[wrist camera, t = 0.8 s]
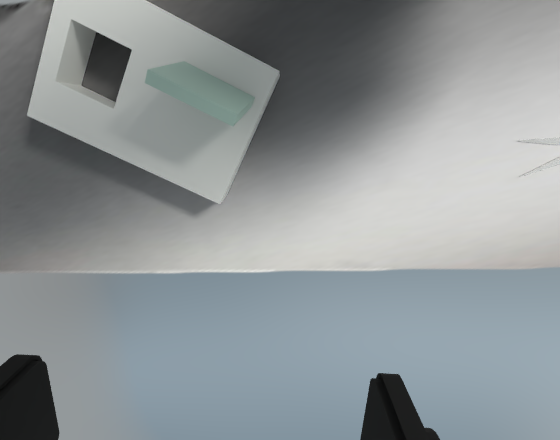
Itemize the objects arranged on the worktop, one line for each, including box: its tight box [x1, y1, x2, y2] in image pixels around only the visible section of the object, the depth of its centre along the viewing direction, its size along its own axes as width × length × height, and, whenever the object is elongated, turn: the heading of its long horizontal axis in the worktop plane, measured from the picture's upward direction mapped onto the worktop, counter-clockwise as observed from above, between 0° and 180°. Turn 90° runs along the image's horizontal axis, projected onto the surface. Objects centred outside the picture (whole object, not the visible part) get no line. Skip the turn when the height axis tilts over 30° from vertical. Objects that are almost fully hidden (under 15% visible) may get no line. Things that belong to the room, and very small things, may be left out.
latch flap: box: [145, 61, 255, 126], centre depth 27 cm, size 7×7×1 cm
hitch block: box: [27, 0, 280, 204], centre depth 32 cm, size 14×20×4 cm
